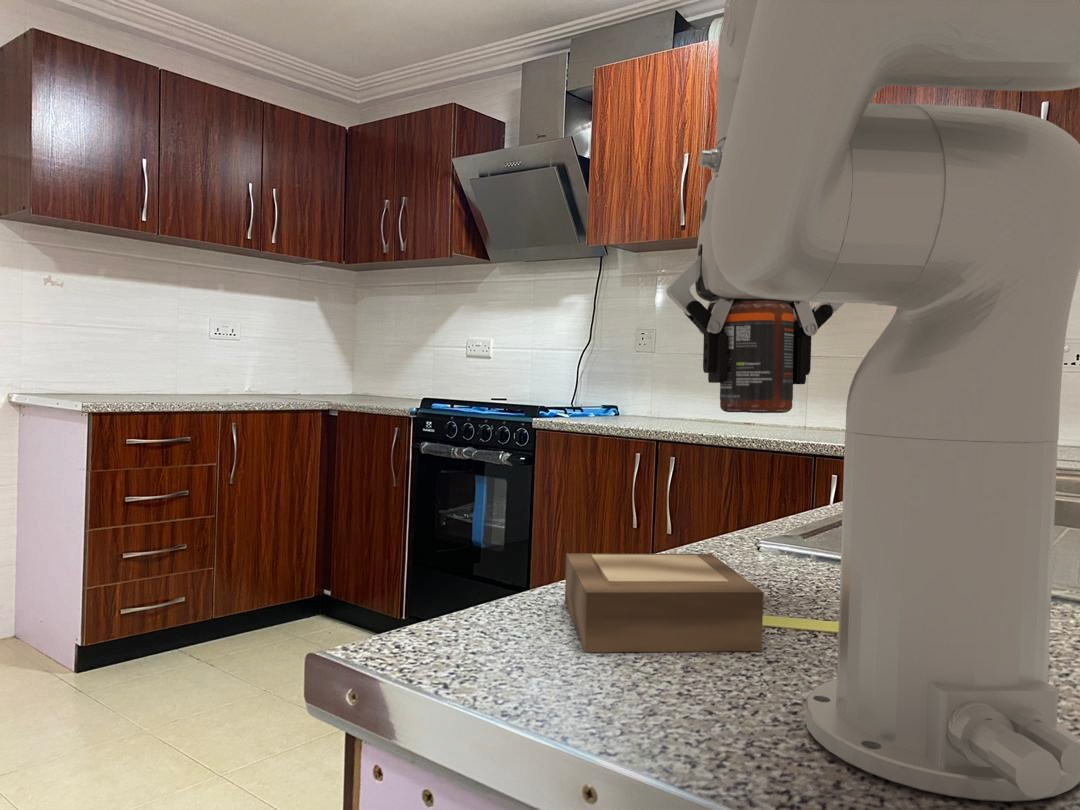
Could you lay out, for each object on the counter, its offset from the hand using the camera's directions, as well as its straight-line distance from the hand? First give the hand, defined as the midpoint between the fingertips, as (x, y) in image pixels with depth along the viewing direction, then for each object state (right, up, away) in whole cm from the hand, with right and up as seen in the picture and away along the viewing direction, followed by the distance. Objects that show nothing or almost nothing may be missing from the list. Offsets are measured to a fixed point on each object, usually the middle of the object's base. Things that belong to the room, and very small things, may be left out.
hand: (756, 381), depth 69 cm
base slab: (-10, -18, -8) cm, 22 cm away
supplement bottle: (0, -3, 0) cm, 3 cm away
